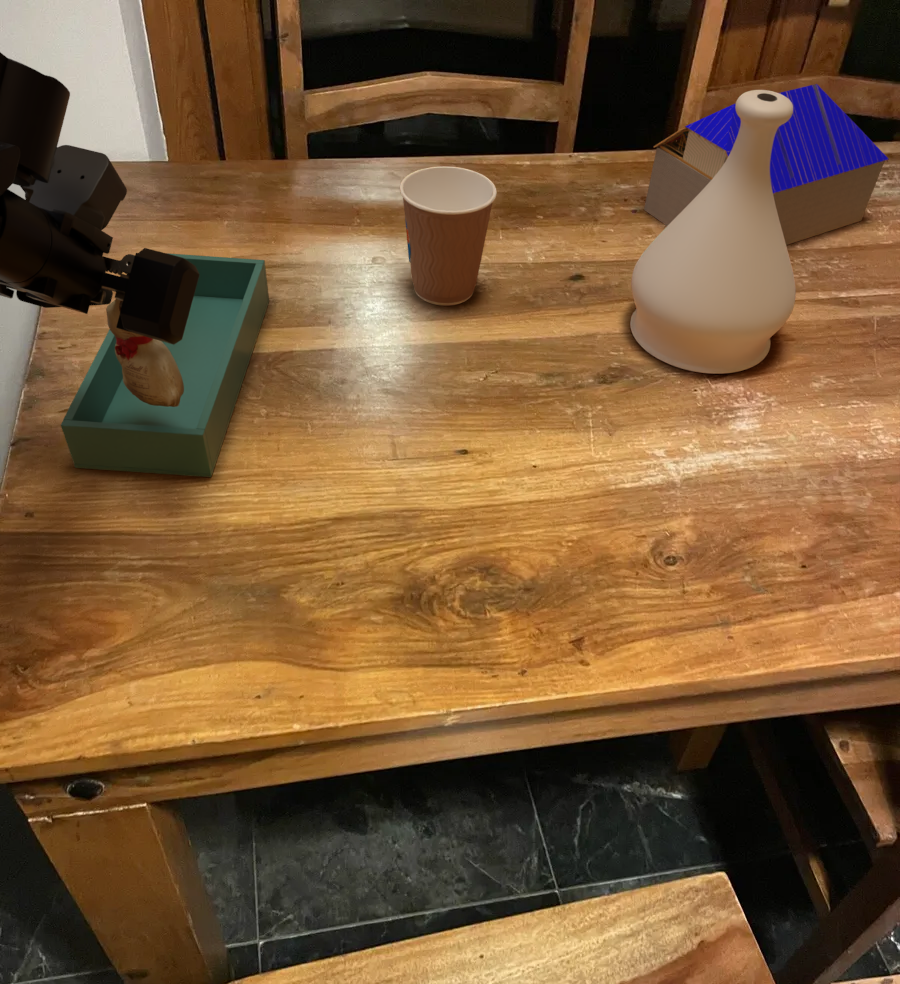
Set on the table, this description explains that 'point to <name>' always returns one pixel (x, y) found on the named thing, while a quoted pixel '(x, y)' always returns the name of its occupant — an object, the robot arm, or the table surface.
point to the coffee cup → (446, 230)
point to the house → (777, 165)
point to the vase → (721, 260)
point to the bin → (205, 373)
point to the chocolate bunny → (145, 364)
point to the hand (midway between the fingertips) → (138, 305)
